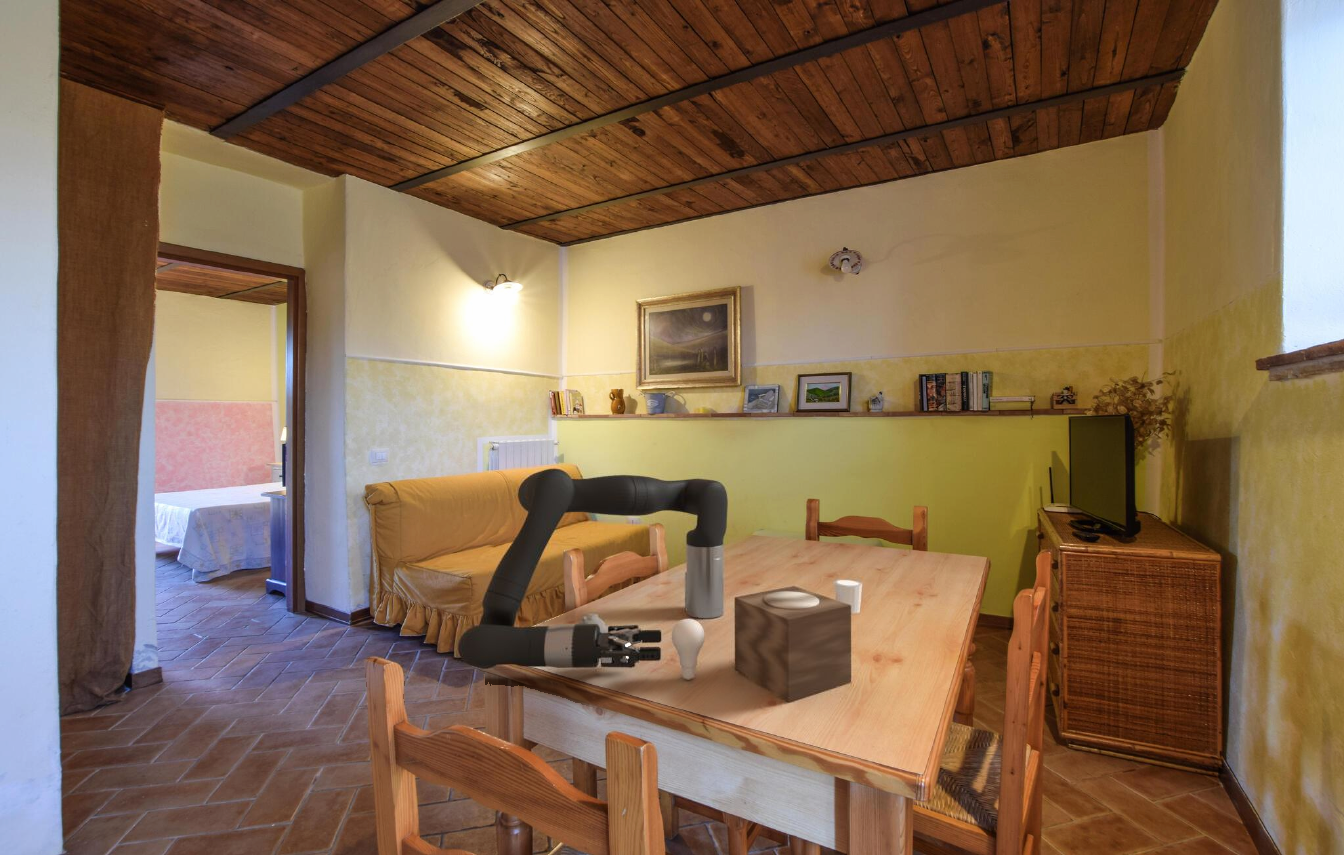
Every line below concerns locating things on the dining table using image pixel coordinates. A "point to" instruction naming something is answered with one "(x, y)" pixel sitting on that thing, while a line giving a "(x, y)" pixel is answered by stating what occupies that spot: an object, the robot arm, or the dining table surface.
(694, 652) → the lightbulb
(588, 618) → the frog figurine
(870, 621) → the dining table surface
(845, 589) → the shot glass
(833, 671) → the lamp housing
